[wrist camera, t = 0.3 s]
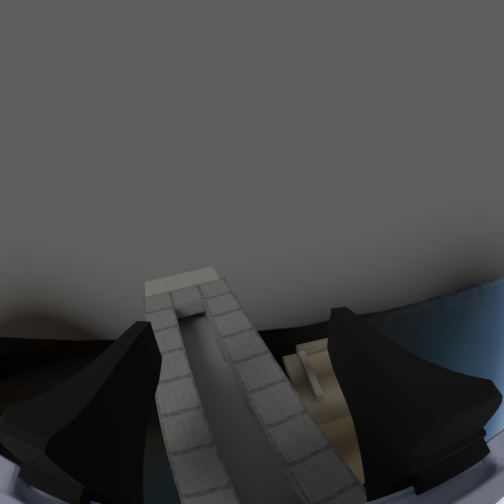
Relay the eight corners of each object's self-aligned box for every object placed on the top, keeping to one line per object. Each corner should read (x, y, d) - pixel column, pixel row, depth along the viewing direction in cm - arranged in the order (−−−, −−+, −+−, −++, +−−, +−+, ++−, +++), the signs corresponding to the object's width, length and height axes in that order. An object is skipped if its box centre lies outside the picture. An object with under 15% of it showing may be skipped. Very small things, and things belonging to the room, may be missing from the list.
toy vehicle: (224, 341, 39) (207, 245, 32) (333, 537, 13) (393, 513, 6) (169, 355, 36) (138, 261, 30) (245, 569, 10) (209, 587, 4)
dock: (442, 444, 19) (457, 428, 18) (329, 497, 18) (336, 488, 16) (375, 343, 36) (380, 323, 35) (282, 367, 35) (282, 347, 33)
